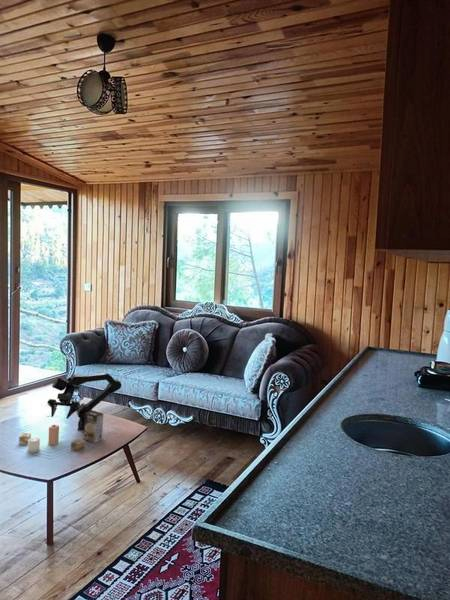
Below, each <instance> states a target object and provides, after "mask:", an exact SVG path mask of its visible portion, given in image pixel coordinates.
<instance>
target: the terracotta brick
mask: <svg viewBox="0 0 450 600" xmlns="http://www.w3.org/2000/svg"><path fill="white" fill-rule="evenodd" d="M59 434H60V425H56V424H52V425H50V426H49V427H48V445H49V446H56V445H57V444H58V443H59V438H60V437H59Z"/></svg>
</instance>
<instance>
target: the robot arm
mask: <svg viewBox="0 0 450 600" xmlns="http://www.w3.org/2000/svg"><path fill="white" fill-rule="evenodd" d="M98 381H107V382H108V384H107V385H106V387H105V388H104V389H103V390H101V392H99V393H98V394H97V395H96V396H94V397H93V398H92V399H90V401H88V402H87V403H84V402H83V403H80V402H79V401H76V400H75V401H74V400H73V399H74V398H73V397H74V394H75V391H78V390H80V388H79V386H80V385H83V384H85V383H90V382H91V383H92V382H98ZM51 387H52V388H53V389H55V390H58V391H61V393H60V392H59V393H58V394H57V396H56V397H57V398H56V399H57V400H58V401H57V400H56V399H53V398H50V399H48V400H47V404H48V405H49V407H50V409H51V410H50V411H51V418H53V417H54V415H55V414H56V411H57V409H58V408H57V407H58V406H61V407H62V406H63V407H69V410H68V413H67V415H66V419H67V420H68V419H69V418H70V417H71V416H72V415H73V414H74V413H76V415H77V417H78V418H79V419H78V422H77V431H83V432H84V426H85V413H87V412H89V411H92V409H94V408H95V407H97V405H98V404H100V403H101V402H102V401H103V400H105V399H106V398H107V397H108V396H110V395H111V394H113V393H116V392H117V391H118V390H121V388H122V382H121V381H119V379H117V378H114V377H113V376H111V375H110V373H108V372H106V371H105V372H100V373H94V374H93V373H92V374H81V373H74V374H72V375H70V377H68V378H66V379H64V378H62V377H60V376H58V377H57V378H56V379H55V380H54V381H53V383H52V385H51ZM62 391H63V392H62ZM72 400H73V401H72Z"/></svg>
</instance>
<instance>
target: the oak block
mask: <svg viewBox="0 0 450 600" xmlns="http://www.w3.org/2000/svg"><path fill="white" fill-rule="evenodd" d="M31 436H32V434H31V432H22V433H20V435H18V444H19V445H28V440H29V439H31V438H32V437H31Z"/></svg>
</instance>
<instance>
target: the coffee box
mask: <svg viewBox="0 0 450 600" xmlns="http://www.w3.org/2000/svg"><path fill="white" fill-rule="evenodd" d="M103 424H104V412H99V411H95V410H91V411H89V412H87V413H85V426H84V431H83V440H84V441H85V440H86V441H89V442H91V443H97V442H100V441H101V440H102V439H103V427H104V426H103Z"/></svg>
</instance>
